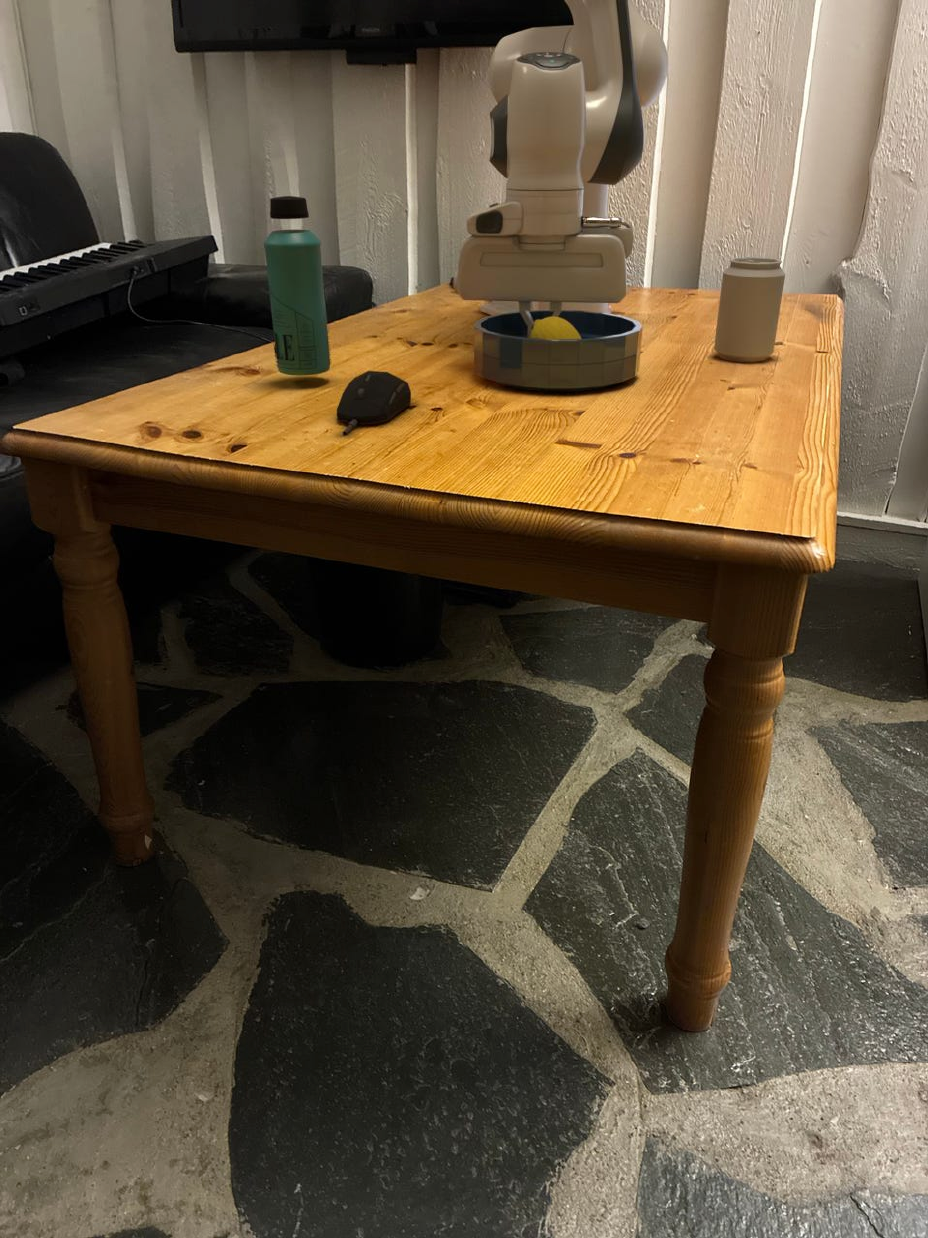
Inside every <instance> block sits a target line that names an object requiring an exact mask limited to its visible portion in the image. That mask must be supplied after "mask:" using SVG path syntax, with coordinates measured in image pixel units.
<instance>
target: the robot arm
mask: <svg viewBox="0 0 928 1238" xmlns="http://www.w3.org/2000/svg"><path fill="white" fill-rule="evenodd" d="M564 2H565V3H566V5H567V6H568V8H569V10H570V13H571V16H572V19H573V25H572V24H571V25H554V26H539V27H538V26H537V27H530V28H527V29H523V30H521V31H517V32H514V33H511V34H508V35H506V36H505V35H504V37H502V38H501V39H500V40H499V41H498V43H497V44H496V46H495V48H494V50H493V52H492V55H491V58H490V61H489V67H488V80H489V86H490V91H491V93H492V96H493V98H494V100H495V102H496V105H495V106H494V107H493V108H492V109H491V111H490V112H489V119H490V129H491V130H490V131H491V135H490V136H491V137H490V139H491V141H490V142H491V144H490V154H489V163H490V164H491V165H492V166H493V167H494V169H495V170H496V171H497V172H498V173H499V174H501V176H503V178H505V179H506V184H505V199H504V201H503V202H501V203H499V202H496V203H492V204H490V205H489V207H485V208H482V209H479V210H477V211H474V212H472V213H471V214H469V215H468V217H467V218H466V231H467V234H469V235H470V236H469V237H467V238H465V240H464V241H463V243H462V245H461V247H460V251H459V255H458V262H457V270H458V271H457V291H456V293H457V294H458V295H459V297H460V298H461V300H462V301H481V302H482V301H486V303H482V304H481V305H480V310H479V311H480V312H482V313H484V314H487V315H489V316H491V315H495V314H501V313H508V312H517V311H519V312H520V314H521V316H522V317H523V319H524V321H525V323H526V325H528V338H530V335H531V331H532V329H533V325H534V321H533V319H532V317H531V314H530V312H529V311H532V310H550V311H552V312H554V313H553V315H552V316H551V317H553V316H554V317H558V316H559V315H560V313H561V311H562V310H575V311H591V312H600V313H609V314H612V306H611V305H610V304H619V303H621V302H622V301H623V300H624V299H625V297H626V296H627V290H628V288H627V286H628V272H627V269H628V267H627V259H628V258H629V257H630V255H631V253H632V252H633V248H634V235H635V234H634V230H633V227H632V226H631V225H630V223H628V222H626V221H624V220H622V217H617V216H610V217H607V216H608V215H607V214H608V199H609V186H616V185H617V184H619V183H620V182H622V181H623V180H625V178H627V177H628V176H629V175H630V174H631V173H632V172H633V171H634V170H635V168H636V167H638V165H639V164H641V163H640V162H641V160H642V158H643V153H644V147H645V141H646V140H645V137H646V135H645V133H646V132H645V124H644V123H645V122H644V117H643V112H642V110H644V109H649V108H650V107H651V106H652V105H653V104H654V103H655V102H656V101H657V99H658V98H659V96H660V94H661V93H662V91H663V89H664V86H665V84H666V80H667V77H668V71H669V55H668V50H667V47H666V43H665V42H664V40H663V37H662V36H661V34H660V32H659V31H658V30H657V29H656V28H655V27H654V26H653V25H651V24H650V23H649V22H648V21H647V20H646V19H645V18H644V17H643V15H642V14H641V13H640V12H639V10H638V9H637V7H636V6H635V5H634V3H633V1H632V0H564ZM622 226H624V227H622ZM453 283H454V276H452V277H451V278H450V281H449V285H451V286H452V287H453Z"/></svg>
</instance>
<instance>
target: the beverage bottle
mask: <svg viewBox="0 0 928 1238" xmlns="http://www.w3.org/2000/svg"><path fill="white" fill-rule="evenodd" d="M269 210H270V211H269V216H270V217H269V218H270V219H272V220H273V219H274V220H298V219H299V220H300V219H308V218H310V216H309V215H310V214H309V210H308V203H307V198H305V197H301V196H293V195H284V196H277V197H271V198H270V200H269ZM321 246H322V242H321V240H320V238H319V237H318V236H317V235H316V234H314V232H313V231H311V229H279V230H272V231H271V232H270V233H269V234H268V235H267V237H266V238H265V240H264V241H263V248H264V251H265V253H264V254H265V260H266V261H265V262H266V270H267V271H266V272H267V273H266V274H267V287H268V290H267V292H268V293H269V294H268V295H267V296H268V298H269V301H270V302H269V303H270V311H271V318H272V319H271V320H272V321H271V322H272V323H271V325H272V335H273V339H272V341H273V344H274V346H273V349H274V350H273V351H274V352H273V353H274V358H275V366H276V367H277V370H278V372H279V373H280V374H282V375H286V376H287V375H288V376H313V375H320V374H324V373H326V372H327V373H328V371H330V370H331V369H330V368H331V364H332V362H333V361H332V360H331V359H332V355H331V354H332V353H331V352H332V351H331V344H330V341H331V340H330V335H329V333H330V331H329V329H330V328H329V327H330V326H328V319H329V317H328V316H327V315H328V312H327V301H326V299H325V289H324V288H325V286H324V275H323V273H324V272H323V263H322V250H321V249H322V248H321Z"/></svg>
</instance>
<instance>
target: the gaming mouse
mask: <svg viewBox="0 0 928 1238" xmlns="http://www.w3.org/2000/svg"><path fill="white" fill-rule="evenodd" d="M411 400H412V391H411V388H410V385H409V382H407V381H406V380H404V379H402V378H400V377H398V376H396V375H394V374H392V373H390V372H389V371H379V370H378V371H376V370H367V371H365V372H364V373H361V374H359V375H357V376H355V377H354V378H353V379H351V380H350V382H348V384H347V386H346V387H345V389H344V390H343V392H342V394H341V398H340V400H339V403H338V405H337V407H336V418H337V420H338V421H339V422H342V423H348V424H347V427H346V428H345V429H344V430H343V432H342V435H343V436H347V434H349V432H350V431H351V430H354V429H355V428H356V426H357V425H377V424H381V423H386V422H387V421H389V420H390V419H392V418H394V417H395V416H396V415H397V414H399V413H400V412H401V411H404V409H406V408H407V407H408V406H409V405H410V404H411Z"/></svg>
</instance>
